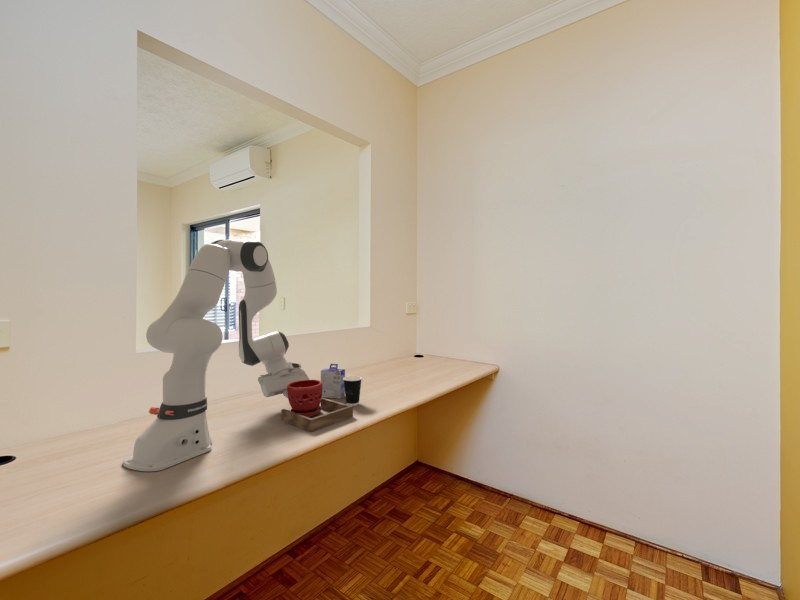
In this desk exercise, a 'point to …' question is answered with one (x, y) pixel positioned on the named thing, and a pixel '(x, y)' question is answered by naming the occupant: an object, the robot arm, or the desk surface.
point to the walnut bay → (312, 424)
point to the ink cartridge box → (333, 382)
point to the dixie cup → (352, 389)
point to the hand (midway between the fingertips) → (294, 399)
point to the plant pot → (305, 397)
